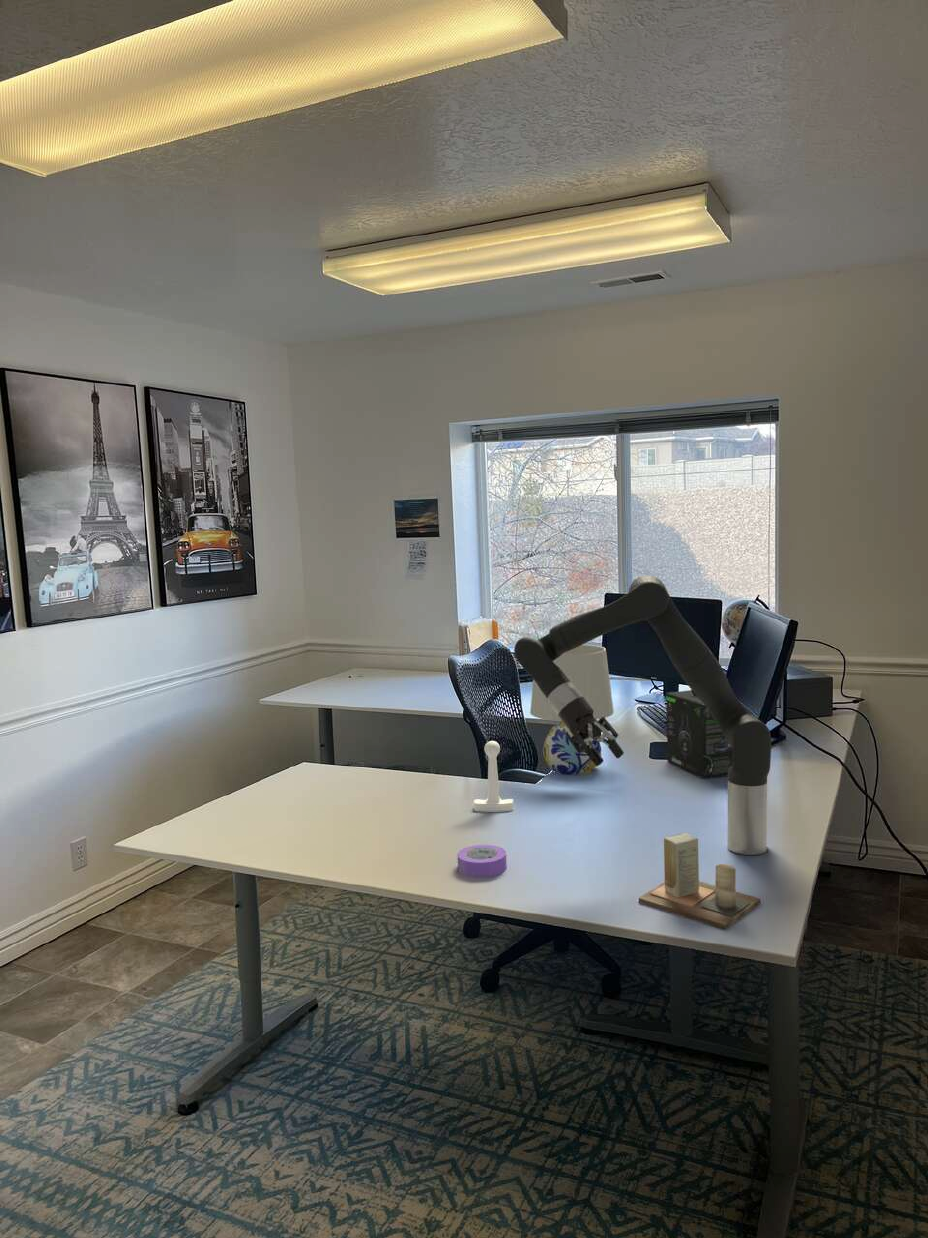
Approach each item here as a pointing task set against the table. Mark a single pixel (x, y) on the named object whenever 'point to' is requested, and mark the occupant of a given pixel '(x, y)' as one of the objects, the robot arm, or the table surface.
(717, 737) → the headset box
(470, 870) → the masking tape
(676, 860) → the skincare box
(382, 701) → the table surface
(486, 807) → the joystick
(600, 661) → the table lamp
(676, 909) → the board
